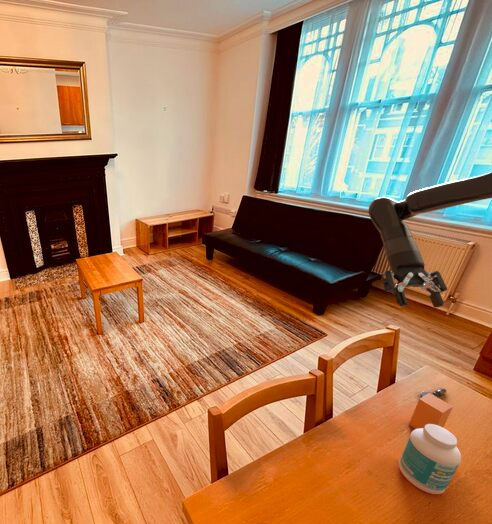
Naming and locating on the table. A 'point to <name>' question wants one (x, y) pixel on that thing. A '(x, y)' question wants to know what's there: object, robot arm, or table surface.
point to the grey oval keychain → (435, 393)
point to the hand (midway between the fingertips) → (421, 306)
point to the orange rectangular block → (430, 412)
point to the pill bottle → (430, 458)
